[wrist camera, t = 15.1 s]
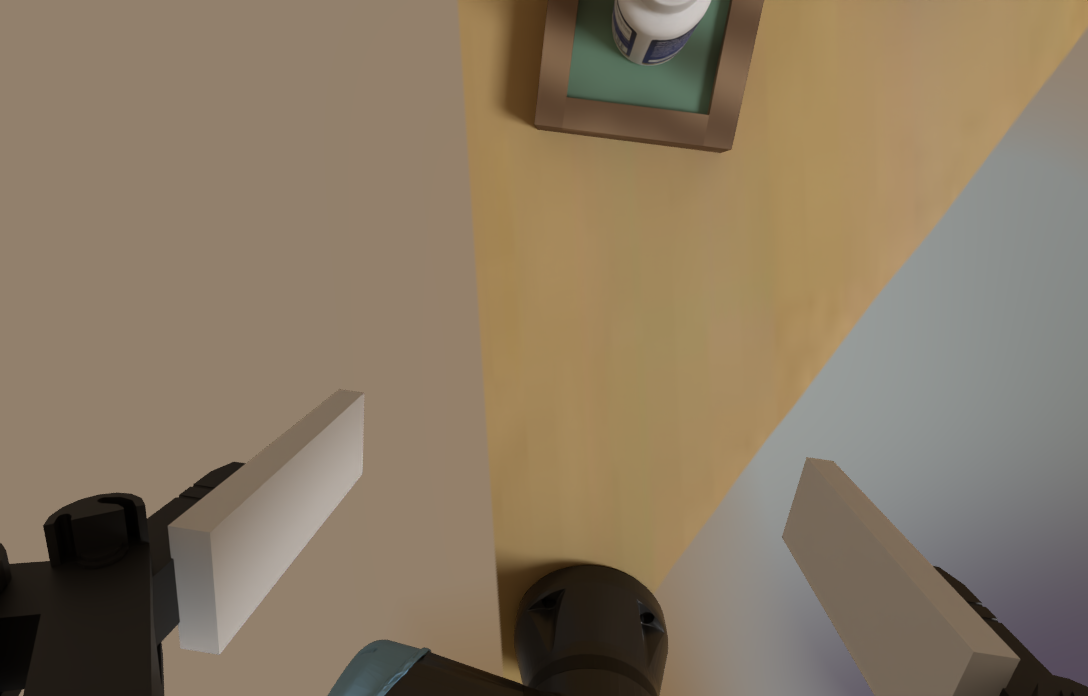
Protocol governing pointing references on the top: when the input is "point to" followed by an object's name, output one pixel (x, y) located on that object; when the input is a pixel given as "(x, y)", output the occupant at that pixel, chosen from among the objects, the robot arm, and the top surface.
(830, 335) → the top surface
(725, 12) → the wooden tray
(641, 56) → the pill bottle
